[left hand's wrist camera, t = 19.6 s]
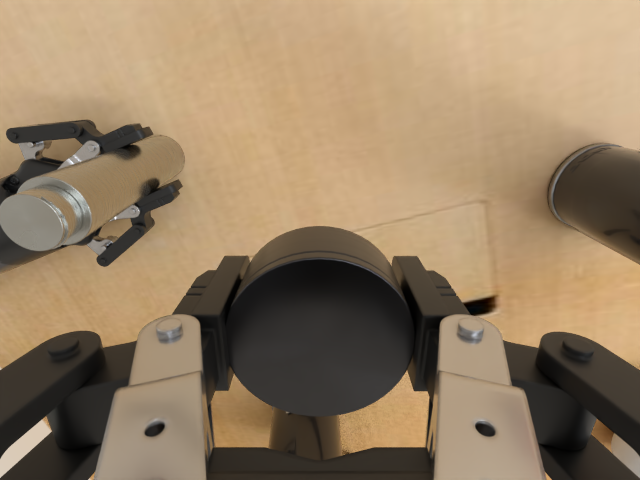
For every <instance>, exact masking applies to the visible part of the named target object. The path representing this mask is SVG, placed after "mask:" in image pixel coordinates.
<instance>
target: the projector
mask: <svg viewBox="0 0 640 480" xmlns="http://www.w3.org/2000/svg"><path fill="white" fill-rule="evenodd" d="M611 449H612V453H613V455H615V456H616V457H617V458H618V459H619V460H620V461H621V462H622V463H623V464H625V465H626V466H627V467H628V468H629V469H630V470H631V471H632V472H633V473H635V474H636V475H637V476H638V477H639V478H640V457H639V455H638V454H637V453H636V452H635V450H634V449H633V448H631V447H630V446H629V445H628V444H627V443H626V442H624V441H623V440H622V439H621V438H620V437H618V436H617V435H616V434H615V433H614V435H613V437H612V442H611Z"/></svg>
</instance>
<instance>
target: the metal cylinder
mask: <svg viewBox="0 0 640 480" xmlns="http://www.w3.org/2000/svg"><path fill="white" fill-rule="evenodd" d="M184 161H185V159H184V153H183V151H182V149H181V147H180V146H179V145H178V143H177V142H175V141H174V140H173V139H171V138H169V137H166V136H154V137H151V138H148V139H146V140H143V141H140V142H137V143H134V144H131V145H128V146H125V147H122V148H119V149H116V150H113V151H110V152H107V153H104V154H102V155H99V156H96V157H93V158H90V159H87V160H84V161H81V162H78V163H75V164H72V165H69V166H66V167H63V168H60V169H58V170H55V171H52V172H49V173H46V174H43V175H40V176H37V177H34V178H31V179H29V180H27V181H26V182H24V183H23V184H22V185H21V186H20V188H19V190H18V192H17V194H15V195H12V196H10V197H8V198H7V199H5V200H4V201H3V202H2V204H1V206H0V225H1V227H2V229H3V231H4V232H5V234H6V235H7V236H8V237H9V238H10V239H11V240H12V241H14V242H15V243H16V244H18V245H20V246H21V247H24V248H26V249H29V250H33V251H46V250H50V249H55V248H57V247H60V246H61V245H70V244H74V243H77V242H79V241H81V240H82V239H84V238H85V237H87V236H88V235H90V234H91V233H93V232H94V231H95V230H97V229H98V228H100V227H101V226H103V225H104V224H106V223H107V222H109V221H110V220H112V219H113V218H114V217H116V216H117V215H119V214H120V213H122V212H123V211H125V210H126V209H128V208H129V207H130V206H132V205H133V204H135V203H136V202H138V201H139V200H141V199H142V198H144V197H145V196H146V195H148V194H149V193H151V192H152V191H154V190H155V189H157V188H158V187H160V186H161V185H162V184H164V183H165V182H167V181H168V180H170V179H171V178H173V177H174V176H176V175H177V174H178V173H179V172H180V171H181V170H182V168H183V166H184Z"/></svg>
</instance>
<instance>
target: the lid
mask: <svg viewBox="0 0 640 480" xmlns="http://www.w3.org/2000/svg"><path fill="white" fill-rule="evenodd" d="M225 327H226V336H227V345H228V354H229V362H230V366H231V368H232V370H233V372H234V374H235V375H236V377H237V378H238V379H239V381H240V382H241V383H242V384H243V385H244V386H245V387H246V388H247V389H248V390H249V391H250V392H251V393H252V394H253V395H255V396H256V397H257V398H259V399H260V400H262V401H264V402H265V403H267V404H269V405H271V406H273V407H275V408H278V409H280V410H283V411H286V412H290V413H294V414H298V415H305V416H318V417H322V416H335V415H341V414H346V413H349V412H353V411H356V410H359V409H361V408H364V407H366V406H368V405H370V404H372V403H374V402H376V401H377V400H379V399H380V398H382V397H383V396H385V395H386V394H387V393H388V392H389V391H390V390H392V389H393V388H394V386H395V385H396V384H397V383H398V382H399V381H400V380H401V378H402V377H403V375H404V374H405V372H406V370H407V368H408V366H409V365H410V362H411V359H412V356H413V353H414V346H415V326H414V320H413V317H412V314H411V311H410V309H409V306H408V304H407V301H406V299H405V297H404V294H403V292H402V290H401V287H400V285H399V283H398V280H397V278H396V276H395V273H394V271H393V269H392V267H391V265H390V263H389V262H388V260H387V259H386V257H385V256H384V255H383V254H382V252H381V251H380V250H379V249H378V248H377V247H375V246H374V245H373V244H372V243H371V242H369V241H368V240H366V239H364V238H363V237H361V236H359V235H357V234H355V233H353V232H350V231H347V230H344V229H340V228H334V227H326V226H313V227H305V228H300V229H295V230H292V231H289V232H286V233H284V234H282V235H280V236H278V237H276V238H275V239H273V240H272V241H270V242H269V243H267V244H266V245H265V246H264V247H263V248H262V249H260V250H259V252H258V253H257V254H256V255H255V256H254V257H253V259H252V260H251V262H250V264H249V265H248V267H247V269H246V272H245V274H244V276H243V279H242V281H241V283H240V286H239V288H238V290H237V293H236V295H235V297H234V300H233V302H232V305H231V307H230V309H229V312H228V314H227V318H226V321H225Z"/></svg>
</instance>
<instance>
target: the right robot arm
mask: <svg viewBox="0 0 640 480" xmlns="http://www.w3.org/2000/svg"><path fill="white" fill-rule="evenodd" d="M6 135H7V138H8V139H9V140H10V141H11V142H13V143H19V146H20V148H21V151H22V153H23V156H24V158H25V161H24V162H22V164H21V165H20V167H19V169H18V170H17V171H16V172H15V173H13V174H11V175H8V176H6V177H4V178H2V179H0V206H1V204H2V202H3V201H4V200H5V199H7V198H8V197H10V196H12V195H15V194H17V192H18V190H19V188H20V186H21V185H22V184H23V183H24V182H26V181H27V180H29V179H31V178H34V177H37V176H40V175H43V174H46V173H49V172H52V171H55V170H58V169H60V168H63V167H66V166H69V165H72V164H75V163H78V162H81V161H84V160H87V159H90V158H93V157H96V156H99V155H102V154H104V153H107V152H110V151H113V150H116V149H119V148H122V147H125V146H128V145H131V144H133V143H135V142H137V141H140V140H142V139H144V138H146V137H149V136H151V135H153V133H152V131H151V129H150V127H146V128H142V127H141V125H140V124H130V125H126V126H123V127H121V128H119V129H117V130H115V131H112V132H110V133H108V134H106V135H104V134H102V133H100V132H99V131H98V130H97V129H96V126H95V124H94V123H93V122H92V121H90V120H79V121H69V122H59V123H48V124H38V125H29V126H22V127H16V128H10V129H8V130H7V132H6ZM68 138H76V139H77V140H78V141H79V142H80V143H81V144H83V146H82V147H81V148H80V149H79V150H78V151H77V152H76V153H75V154H74V155H73V156H71V157H70V158H68V159H67V160H66V161H65V162H64V161H59V160H55V159H51V158H46V157H43V156H42V152H43V151H44V150H45V149H48V148H49V147H50V146H51V143H52V140H58V139H68ZM181 187H183V186H182V184H181V182H180V181H179V180H176V181H174V182H171V183H169V184H166V185H164V186H162V187H159V188H157V189H155V190H154V191H152V192H151V193H149V194H148V195H146V196H145V197H144V198H142V199H141V200H139V201H138V202H136V203H135V204H133V205H132V206H130V207H129V208H128V209H126V210H125V211H123V212H122V213H120V214H119V215H117V216H116V217H114V218H113V219H112V220H115V219H124V218H131V222H132V227H131V228H130V229H129V230H128V231H126V232H125V233H124V234H123V235H122V236H121V237H120V238H118V237H116V236H108V237H106V238H101V237H99V236H98V235H99V232H100V230H101V228H102V226H101V227H100V228H98V229H97V230H95V231H94V232H93V233H91V234H90V235H88V236H87V237H85V238H84V239H82V240H81V241H79V242H77V243H74V244H70V245H80V246H83V245H87V246H89V247H90V248H91V249H92V250H93V251H94V252H96V253H97V254H98V255H99V256H98V257H97V262H98V264H99V265H101V266H104V267H105V266H108V265H109V264H111V263H112V262H113V261H114V260H115V259H116V258H118V257H119V256H120V255H121V254H122V253H123V252H125V251H126V250H127V249H128V248H129V247H130V246H132V245H133V244H134V243H135V242H136V241H137V240H138V239H140V238H141V237H142V236H143V235H144V234H145V233H146V232H148V231H149V230H150V229H151V228H152V227H153V226H154V224H155V222H154V220H153V218H151V215H150V211H151V210H153V209H155V208H158V207H160V206H163V205H165V204H168V203H170V202H172V201H173V200H174V199H175V198H176V197H177V196H178V195H179V194H180V193H179V192H178V190H179V189H180V188H181ZM112 220H110V221H112ZM70 245H61V246H60V247H57V248H55V249H50V250H46V251H33V250H29V249H26V248H24V247H21V246H20V245H18V244H16V243H15V242H14V241H12V240H11V239H10V238H9V237H8V236H7V235H6V234H5V232H4V231H3V229H2V227H1V225H0V273H3V272H6V271H8V270H11V269H13V268H16V267H18V266H21V265H23V264H26V263H28V262H30V261H33V260H35V259H38V258H40V257H43V256H45V255H47V254H50V253H52V252H55V251H57V250H60V249H62V248H64V247H67V246H70ZM272 410H273V413H272V422H271V430H270V440H269V449H273V450H277V451H281V452H285V453H289V454H293V455H297V456H301V457H305V458H309V459H313V460H327V459H331V458H335V457H339V456H342V446H341V436H340V423H339V415H335V416H322V417H318V416H305V415H298V414H294V413H290V412H286V411H283V410H280V409H278V408H275V407H273V406H272ZM346 455H347V454H346Z"/></svg>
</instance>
